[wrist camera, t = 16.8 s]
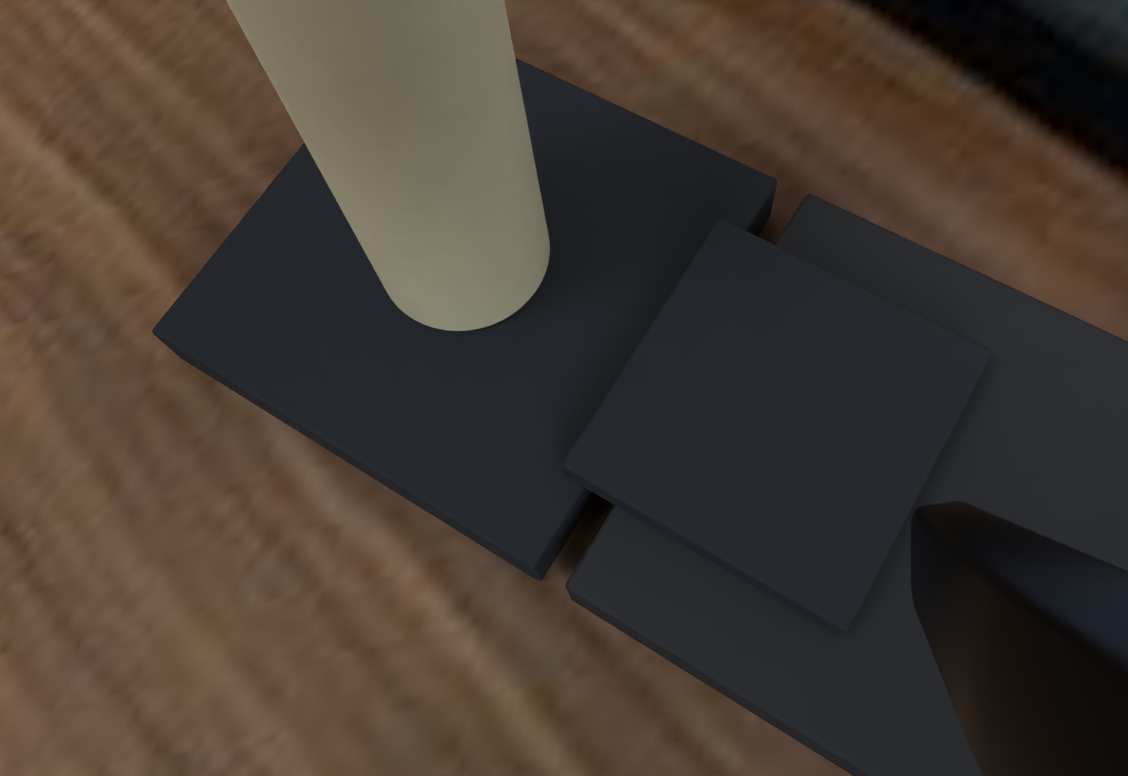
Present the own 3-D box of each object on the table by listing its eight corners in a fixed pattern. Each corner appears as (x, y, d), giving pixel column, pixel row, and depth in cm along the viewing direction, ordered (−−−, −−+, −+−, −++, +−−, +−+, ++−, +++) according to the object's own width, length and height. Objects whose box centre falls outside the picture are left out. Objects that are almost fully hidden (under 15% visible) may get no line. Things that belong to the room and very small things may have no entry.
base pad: (1366, 496, 16) (1421, 475, 15) (1182, 981, 14) (1230, 1000, 12) (798, 226, 18) (808, 190, 17) (568, 598, 16) (563, 586, 15)
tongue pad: (996, 322, 17) (1813, -725, 5) (780, 732, 15) (1306, 592, 3) (424, 49, 20) (98, -995, 8) (179, 357, 18) (-735, -443, 6)
